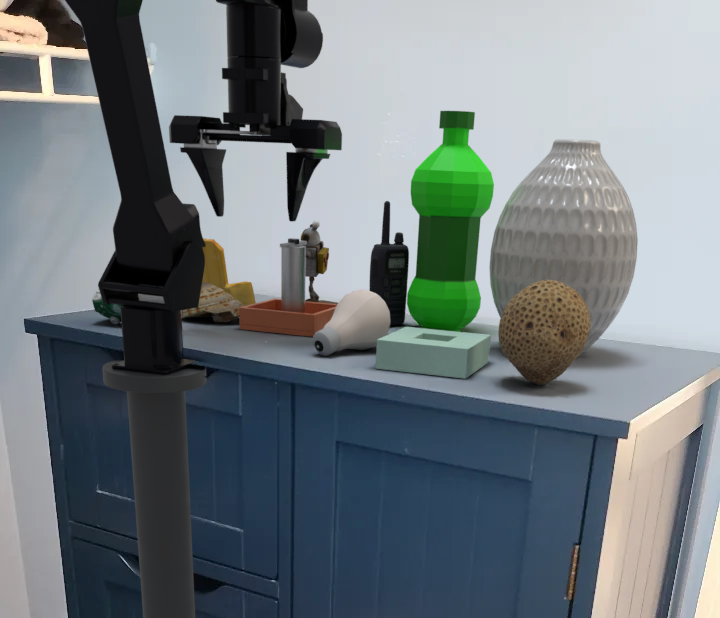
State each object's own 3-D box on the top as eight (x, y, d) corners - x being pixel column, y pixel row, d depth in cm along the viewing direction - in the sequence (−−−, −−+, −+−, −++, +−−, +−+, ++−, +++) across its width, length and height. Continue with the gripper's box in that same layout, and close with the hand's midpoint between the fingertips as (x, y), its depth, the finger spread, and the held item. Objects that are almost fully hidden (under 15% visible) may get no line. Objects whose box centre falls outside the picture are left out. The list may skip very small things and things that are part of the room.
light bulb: (306, 376, 108) (367, 338, 114) (348, 374, 103) (408, 335, 109) (287, 319, 104) (351, 283, 110) (329, 315, 100) (393, 278, 106)
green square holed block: (465, 379, 97) (468, 348, 95) (375, 368, 100) (376, 339, 98) (488, 362, 105) (490, 334, 104) (404, 353, 108) (405, 326, 106)
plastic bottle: (495, 330, 125) (517, 114, 114) (449, 339, 118) (467, 109, 106) (434, 321, 131) (449, 114, 119) (386, 328, 123) (397, 108, 112)
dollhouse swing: (258, 304, 138) (257, 236, 134) (225, 312, 130) (223, 240, 126) (196, 298, 142) (193, 231, 137) (160, 305, 134) (156, 235, 129)
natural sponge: (570, 399, 90) (586, 288, 86) (480, 388, 93) (491, 280, 88) (588, 382, 98) (603, 279, 93) (505, 372, 101) (515, 272, 96)
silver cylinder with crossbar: (313, 320, 123) (315, 238, 119) (293, 327, 118) (294, 241, 113) (292, 318, 124) (293, 236, 120) (271, 324, 119) (271, 239, 114)
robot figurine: (292, 304, 139) (293, 215, 134) (354, 309, 138) (357, 219, 132) (271, 315, 130) (271, 219, 124) (337, 319, 128) (340, 223, 123)
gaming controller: (104, 334, 121) (80, 304, 116) (114, 309, 122) (91, 278, 117) (166, 342, 118) (144, 311, 113) (176, 316, 119) (155, 284, 114)
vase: (646, 356, 112) (682, 144, 102) (570, 372, 102) (601, 138, 92) (534, 336, 122) (556, 141, 112) (453, 349, 112) (470, 135, 101)
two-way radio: (378, 328, 123) (384, 201, 117) (357, 323, 126) (361, 199, 120) (410, 325, 127) (417, 201, 120) (389, 320, 130) (395, 199, 123)
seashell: (223, 309, 118) (177, 277, 120) (211, 350, 121) (166, 318, 123) (264, 302, 124) (219, 272, 126) (251, 341, 127) (208, 311, 129)
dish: (314, 337, 115) (314, 314, 114) (239, 329, 118) (238, 307, 117) (344, 325, 124) (345, 304, 123) (274, 318, 127) (274, 298, 126)
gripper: (361, 67, 105) (356, 220, 112) (212, 65, 111) (216, 211, 118) (323, 57, 96) (320, 225, 103) (162, 55, 102) (170, 215, 109)
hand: (255, 218), depth 108 cm, fingers open, 9 cm apart
